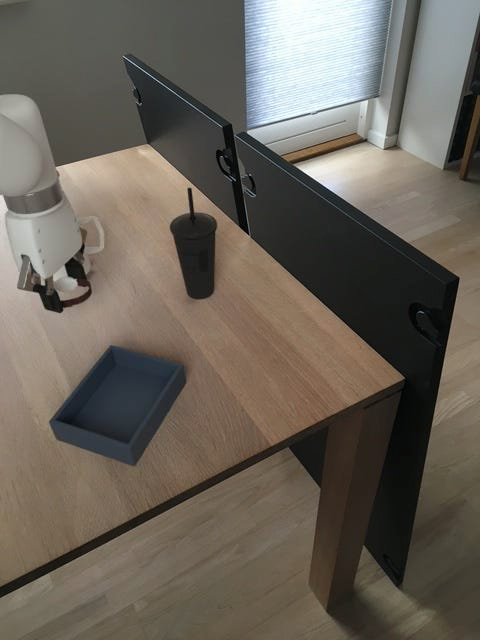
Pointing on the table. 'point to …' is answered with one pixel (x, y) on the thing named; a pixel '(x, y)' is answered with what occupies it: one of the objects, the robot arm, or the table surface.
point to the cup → (87, 250)
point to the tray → (119, 404)
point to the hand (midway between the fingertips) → (67, 296)
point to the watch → (70, 284)
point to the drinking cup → (196, 250)
